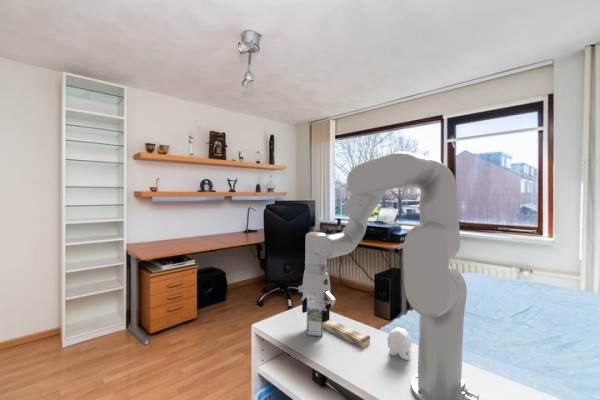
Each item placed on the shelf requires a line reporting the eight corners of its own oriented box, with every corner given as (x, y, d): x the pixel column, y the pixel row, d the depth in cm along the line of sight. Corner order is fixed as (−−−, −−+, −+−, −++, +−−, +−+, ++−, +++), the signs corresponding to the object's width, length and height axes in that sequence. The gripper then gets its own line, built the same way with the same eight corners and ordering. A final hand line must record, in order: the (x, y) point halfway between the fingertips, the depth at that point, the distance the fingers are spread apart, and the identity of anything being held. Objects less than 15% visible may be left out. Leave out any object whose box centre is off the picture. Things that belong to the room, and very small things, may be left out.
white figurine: (386, 328, 82) (396, 317, 92) (385, 357, 82) (395, 343, 92) (408, 334, 79) (416, 322, 89) (407, 365, 78) (415, 349, 88)
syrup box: (323, 328, 99) (324, 289, 99) (323, 337, 93) (323, 295, 93) (307, 327, 100) (308, 288, 99) (306, 336, 94) (306, 294, 94)
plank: (369, 343, 90) (370, 336, 90) (363, 347, 87) (363, 340, 87) (320, 319, 106) (321, 313, 106) (314, 322, 104) (314, 316, 103)
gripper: (342, 271, 92) (341, 321, 92) (306, 261, 105) (306, 305, 105) (327, 275, 87) (326, 328, 87) (291, 264, 100) (291, 311, 100)
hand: (315, 316), depth 96 cm, fingers open, 9 cm apart
